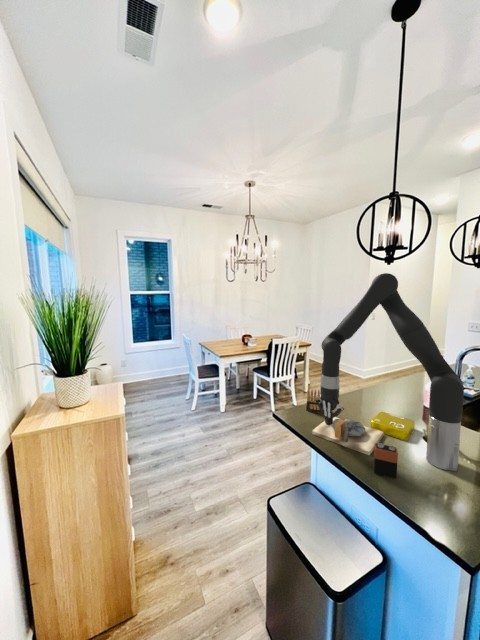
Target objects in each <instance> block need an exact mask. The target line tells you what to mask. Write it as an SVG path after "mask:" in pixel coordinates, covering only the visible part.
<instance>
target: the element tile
mask: <svg viewBox="0 0 480 640" xmlns="http://www.w3.org/2000/svg"><path fill="white" fill-rule="evenodd" d="M415 424H416V423H415V420H413V419H410V418H406V417H403V416H400V415H396V414H392V413H389V412H385V411H379V412H378V413H377V414H376V415H375V416H373V418H371V419H370V428H372V429H376V430H379V431H382V432H384V435H386V436H389V437H393V438H395V439H398V440H401V441H408V440H409V439H410V437H411V436H412V435H413V433H414V432H415Z"/></svg>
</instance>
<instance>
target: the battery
mask: <svg viewBox="0 0 480 640" xmlns="http://www.w3.org/2000/svg"><path fill="white" fill-rule="evenodd" d="M397 449H398V448H397V447H395V446H394V445H387V444H384V443H382V442H379V443H378V444H377V443H375V447H374V450H373V472H374V474H375V475H380V476H383V477H387V478H391V479H397V476H398V475H397V474H398V458H399V457H398V456H399V453H398V450H397Z"/></svg>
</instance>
